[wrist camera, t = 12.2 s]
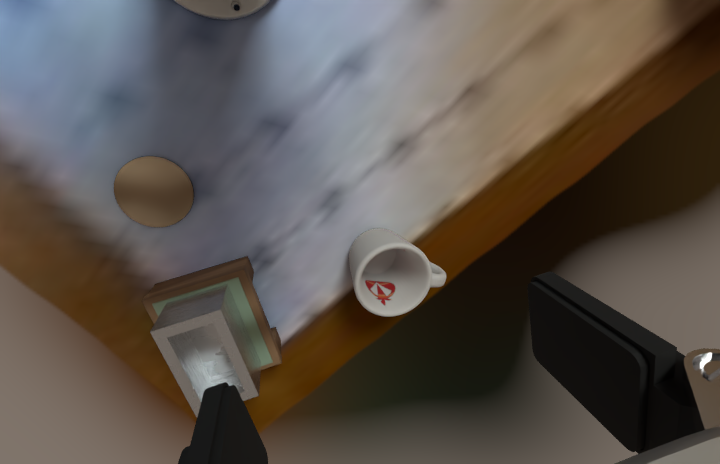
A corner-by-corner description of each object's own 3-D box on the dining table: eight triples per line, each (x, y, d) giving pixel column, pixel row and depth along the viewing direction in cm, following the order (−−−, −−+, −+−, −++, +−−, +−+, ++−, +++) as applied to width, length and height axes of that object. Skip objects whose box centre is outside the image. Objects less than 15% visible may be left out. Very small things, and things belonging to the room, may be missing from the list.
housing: (166, 302, 36) (150, 332, 31) (227, 283, 37) (220, 309, 32) (206, 380, 40) (196, 417, 35) (260, 362, 40) (258, 395, 36)
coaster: (101, 167, 35) (99, 168, 34) (176, 147, 36) (175, 148, 35) (135, 234, 37) (134, 235, 37) (204, 214, 38) (203, 215, 38)
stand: (154, 282, 39) (140, 302, 35) (247, 254, 40) (243, 270, 36) (198, 369, 44) (191, 395, 40) (281, 341, 45) (281, 364, 41)
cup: (435, 228, 44) (467, 253, 37) (418, 288, 46) (445, 322, 39) (349, 214, 41) (364, 238, 34) (335, 279, 44) (347, 314, 36)
